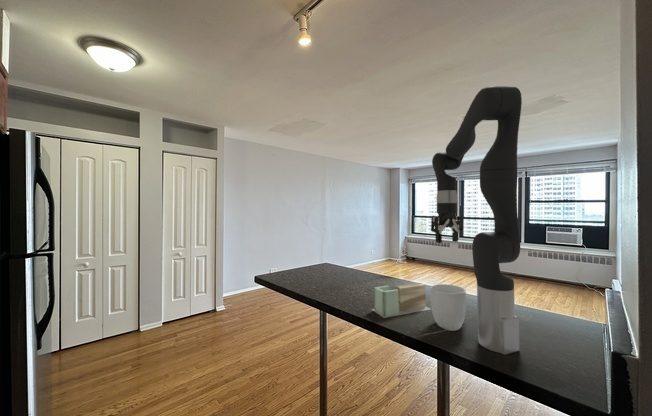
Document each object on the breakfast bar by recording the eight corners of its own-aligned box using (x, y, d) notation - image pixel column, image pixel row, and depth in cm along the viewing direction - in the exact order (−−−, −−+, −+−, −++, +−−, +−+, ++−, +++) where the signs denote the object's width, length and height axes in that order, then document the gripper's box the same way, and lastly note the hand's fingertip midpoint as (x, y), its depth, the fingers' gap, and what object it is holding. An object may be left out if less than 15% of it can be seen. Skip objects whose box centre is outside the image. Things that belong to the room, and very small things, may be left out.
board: (431, 310, 104) (431, 309, 104) (383, 319, 97) (383, 317, 97) (416, 303, 113) (416, 301, 113) (371, 310, 105) (371, 309, 105)
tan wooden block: (425, 307, 107) (425, 284, 107) (400, 311, 103) (400, 288, 103) (419, 304, 110) (419, 282, 110) (395, 308, 106) (395, 285, 106)
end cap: (398, 313, 100) (398, 290, 101) (383, 316, 98) (383, 292, 98) (388, 307, 107) (388, 285, 107) (374, 310, 104) (374, 287, 105)
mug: (451, 315, 99) (450, 280, 99) (480, 326, 90) (479, 288, 90) (424, 324, 92) (423, 287, 92) (453, 337, 82) (452, 295, 83)
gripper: (440, 202, 100) (440, 244, 100) (467, 201, 105) (468, 242, 105) (426, 202, 107) (426, 242, 107) (452, 202, 112) (453, 240, 112)
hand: (447, 242), depth 106 cm, fingers open, 8 cm apart
